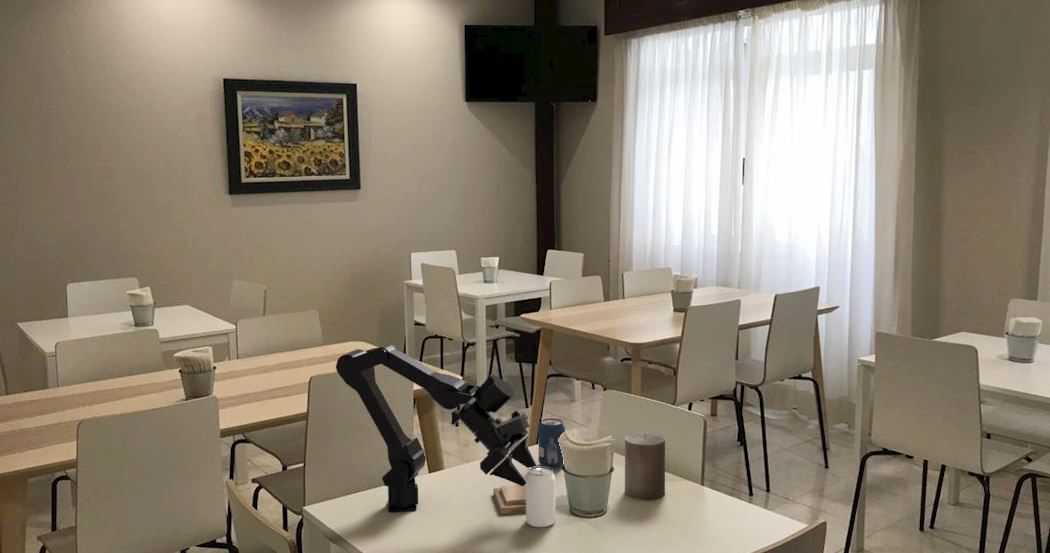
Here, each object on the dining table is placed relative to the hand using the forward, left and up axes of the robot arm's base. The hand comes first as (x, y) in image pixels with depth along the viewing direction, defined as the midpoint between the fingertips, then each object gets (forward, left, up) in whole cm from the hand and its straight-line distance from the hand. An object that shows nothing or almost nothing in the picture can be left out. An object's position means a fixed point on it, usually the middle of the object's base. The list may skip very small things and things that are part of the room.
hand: (530, 477), depth 190 cm
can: (+2, -1, -10) cm, 11 cm away
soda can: (+12, +34, -10) cm, 38 cm away
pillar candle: (+30, +11, -10) cm, 34 cm away
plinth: (0, +11, -10) cm, 15 cm away
